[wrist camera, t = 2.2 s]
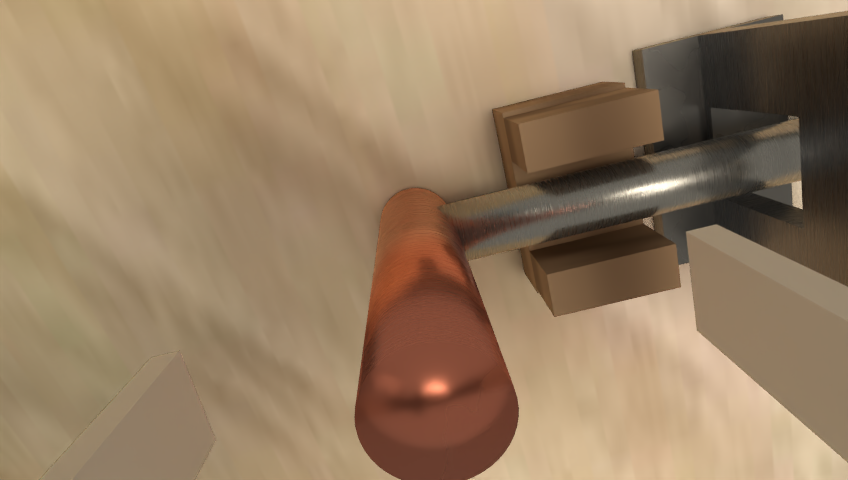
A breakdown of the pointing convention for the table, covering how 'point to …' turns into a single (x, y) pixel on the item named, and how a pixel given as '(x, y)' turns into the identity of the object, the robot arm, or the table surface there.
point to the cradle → (577, 151)
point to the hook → (463, 307)
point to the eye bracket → (757, 107)
